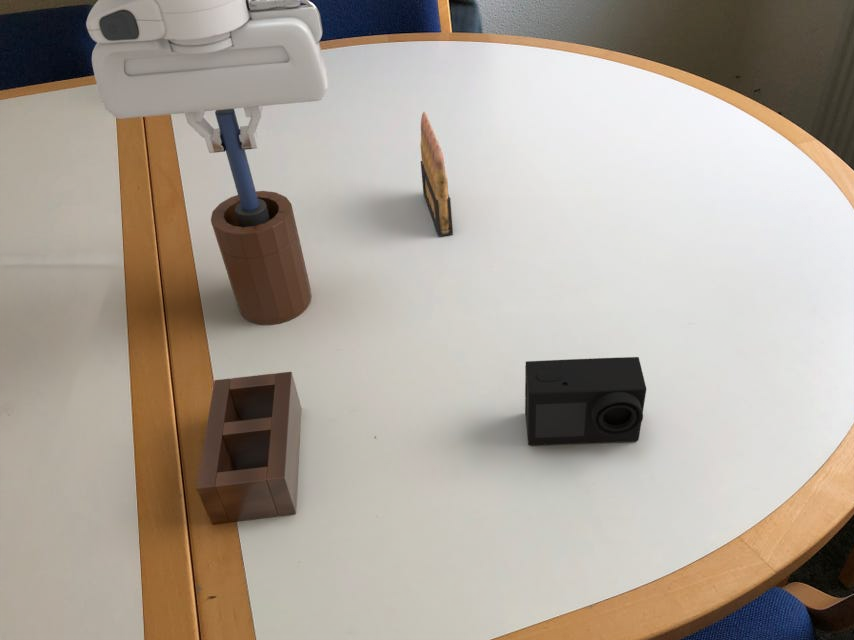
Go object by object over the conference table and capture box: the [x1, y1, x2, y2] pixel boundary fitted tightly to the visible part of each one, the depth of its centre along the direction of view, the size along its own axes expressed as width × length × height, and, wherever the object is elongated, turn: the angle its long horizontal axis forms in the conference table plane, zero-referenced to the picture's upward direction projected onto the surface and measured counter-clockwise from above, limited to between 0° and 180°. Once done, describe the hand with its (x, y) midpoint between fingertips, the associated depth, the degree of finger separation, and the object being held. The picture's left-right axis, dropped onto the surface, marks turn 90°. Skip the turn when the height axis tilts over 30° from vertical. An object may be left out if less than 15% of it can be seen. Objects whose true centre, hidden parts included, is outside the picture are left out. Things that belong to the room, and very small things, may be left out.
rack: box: [195, 371, 302, 525], centre depth 72 cm, size 7×13×5 cm, turn 7°
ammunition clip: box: [420, 111, 454, 238], centre depth 99 cm, size 11×2×12 cm, turn 13°
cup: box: [210, 190, 312, 326], centre depth 87 cm, size 8×8×12 cm
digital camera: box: [524, 356, 647, 446], centre depth 72 cm, size 10×5×7 cm, turn 91°
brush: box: [214, 109, 270, 227], centre depth 80 cm, size 3×3×16 cm
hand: (234, 148), depth 78 cm, fingers closed on brush, 2 cm apart
